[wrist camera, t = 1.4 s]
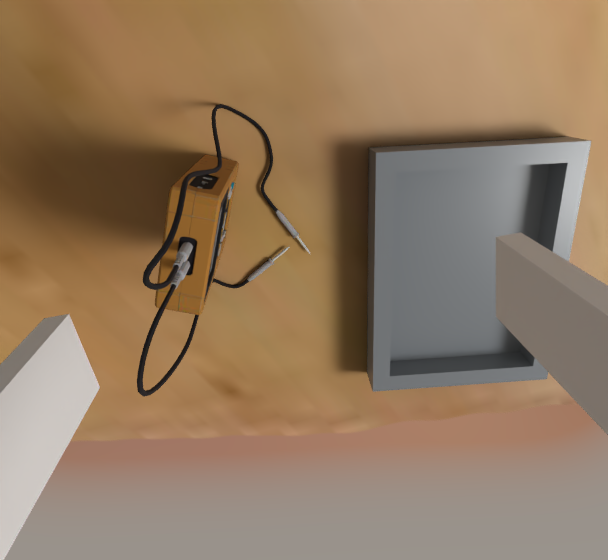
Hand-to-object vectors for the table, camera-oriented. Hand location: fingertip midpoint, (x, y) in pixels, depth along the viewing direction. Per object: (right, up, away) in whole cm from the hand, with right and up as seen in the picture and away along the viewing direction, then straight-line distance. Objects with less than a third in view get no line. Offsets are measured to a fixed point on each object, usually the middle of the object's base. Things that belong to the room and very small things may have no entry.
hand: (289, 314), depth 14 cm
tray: (+15, +2, +27) cm, 31 cm away
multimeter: (-3, +7, +24) cm, 25 cm away
